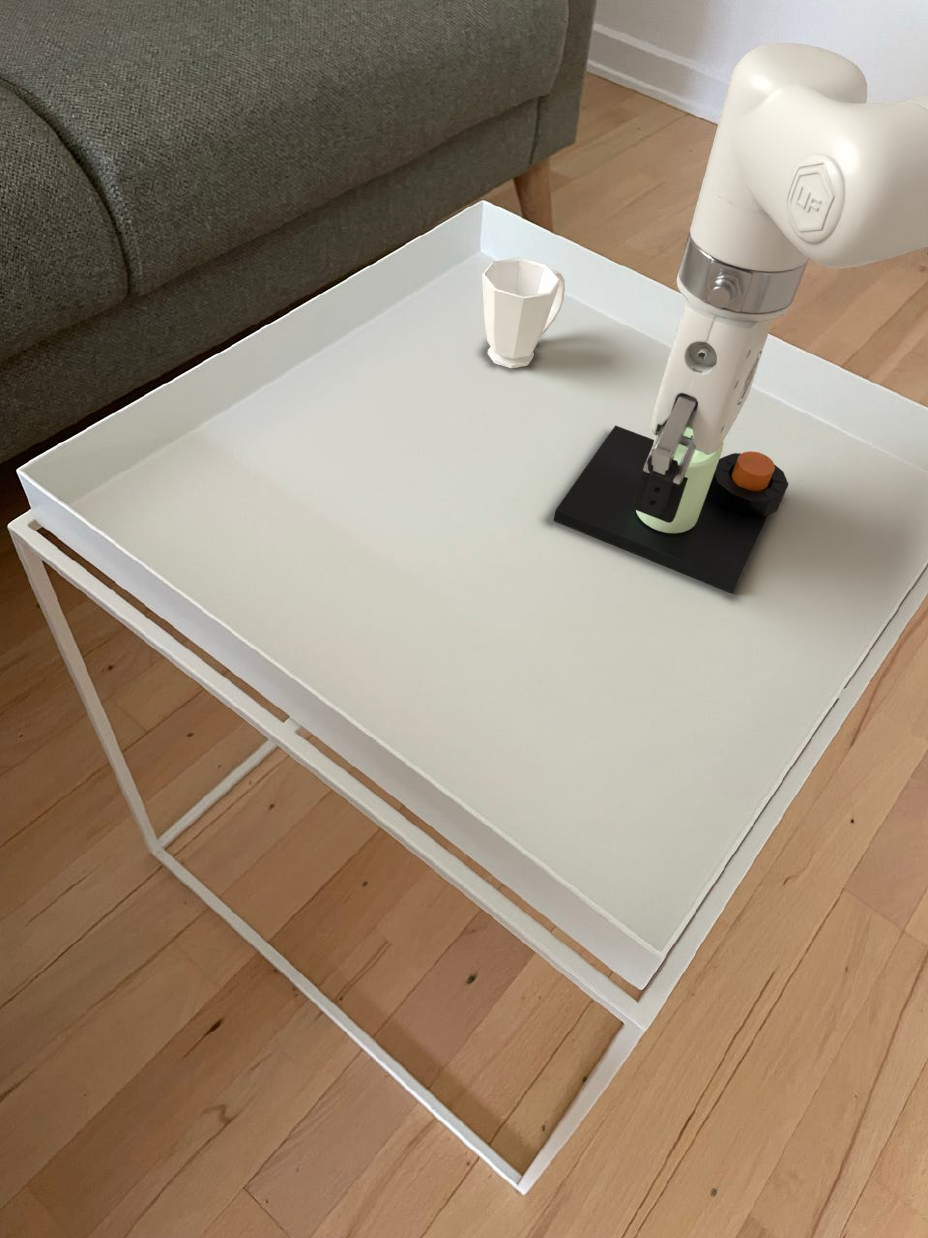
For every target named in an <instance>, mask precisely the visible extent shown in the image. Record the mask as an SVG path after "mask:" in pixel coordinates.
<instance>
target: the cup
mask: <svg viewBox="0 0 928 1238" xmlns="http://www.w3.org/2000/svg"><path fill="white" fill-rule="evenodd" d="M481 280H482V281H481V282H482V297H483V299H482V300H483V316H484V317H483V319H484V328H485V334H486V341H487V343H488V345H489V348H488V349H487V355H488V357H489V358H490V359H491V360H492V362H493V363H494V364H496V365H499V366H503V367H504V368H505V367H506V368H508V369H517V368H522V367H527V366H529V365H530V363H531V362H532V359H533V358H534V355H535V353H534V350H535V349H536V347H537V345H538V343H539V341H540V339H541V338H542V337H543V335H544V334H545V333H546V332H547V331H548V330H549V327H551V325H552V324H553V323H554V321H555V320H556V319H557V316H558V315H559V313H560V311H561V308H562V306H563V303H564V300H565V291H566V287H565V284H566V283H565V278H564V275H563V274H562V273H561V272H559V271H557V270H555V269H552V268H550V267H549V265H548V264H547V265H546V264H543V263H540V262H536V261H533V260H528V259H526V258H522V257H515V258H507V259H500V260H494V261H492V262H491V263H490V264H489V265H488V267H487V268H486V269H485V270H484V272H483V273H482V274H481Z"/></svg>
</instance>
